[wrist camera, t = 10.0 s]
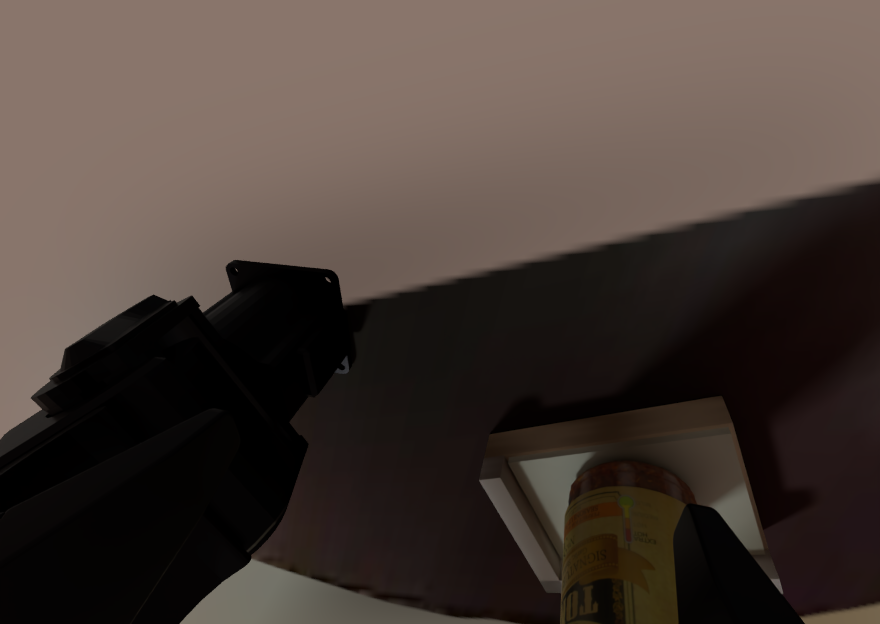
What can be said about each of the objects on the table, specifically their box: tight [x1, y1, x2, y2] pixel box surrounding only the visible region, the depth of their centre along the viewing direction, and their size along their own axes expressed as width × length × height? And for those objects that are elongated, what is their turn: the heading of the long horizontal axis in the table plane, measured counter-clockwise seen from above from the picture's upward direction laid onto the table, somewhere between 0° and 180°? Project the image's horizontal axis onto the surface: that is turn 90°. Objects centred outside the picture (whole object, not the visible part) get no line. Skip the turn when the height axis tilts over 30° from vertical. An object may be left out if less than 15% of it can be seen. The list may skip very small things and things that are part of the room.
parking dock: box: [479, 396, 783, 594], centre depth 24 cm, size 12×10×3 cm
